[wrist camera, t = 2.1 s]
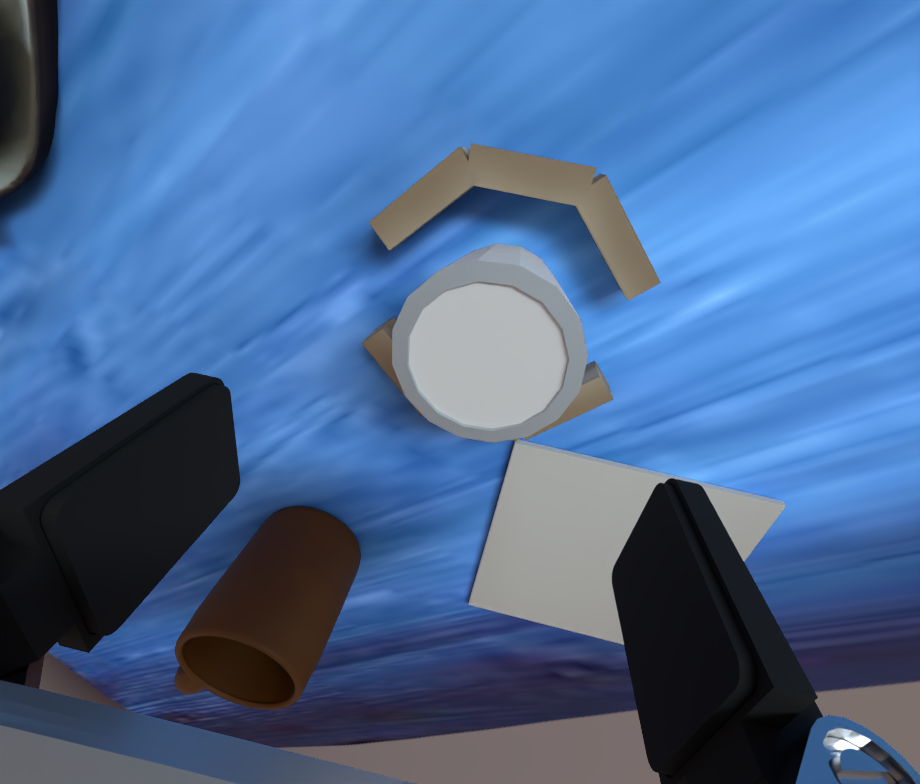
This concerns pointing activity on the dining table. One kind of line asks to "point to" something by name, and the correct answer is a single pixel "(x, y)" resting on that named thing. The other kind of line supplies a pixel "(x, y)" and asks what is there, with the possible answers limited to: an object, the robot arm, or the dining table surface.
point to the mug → (270, 612)
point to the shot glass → (490, 346)
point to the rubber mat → (581, 535)
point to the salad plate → (26, 87)
